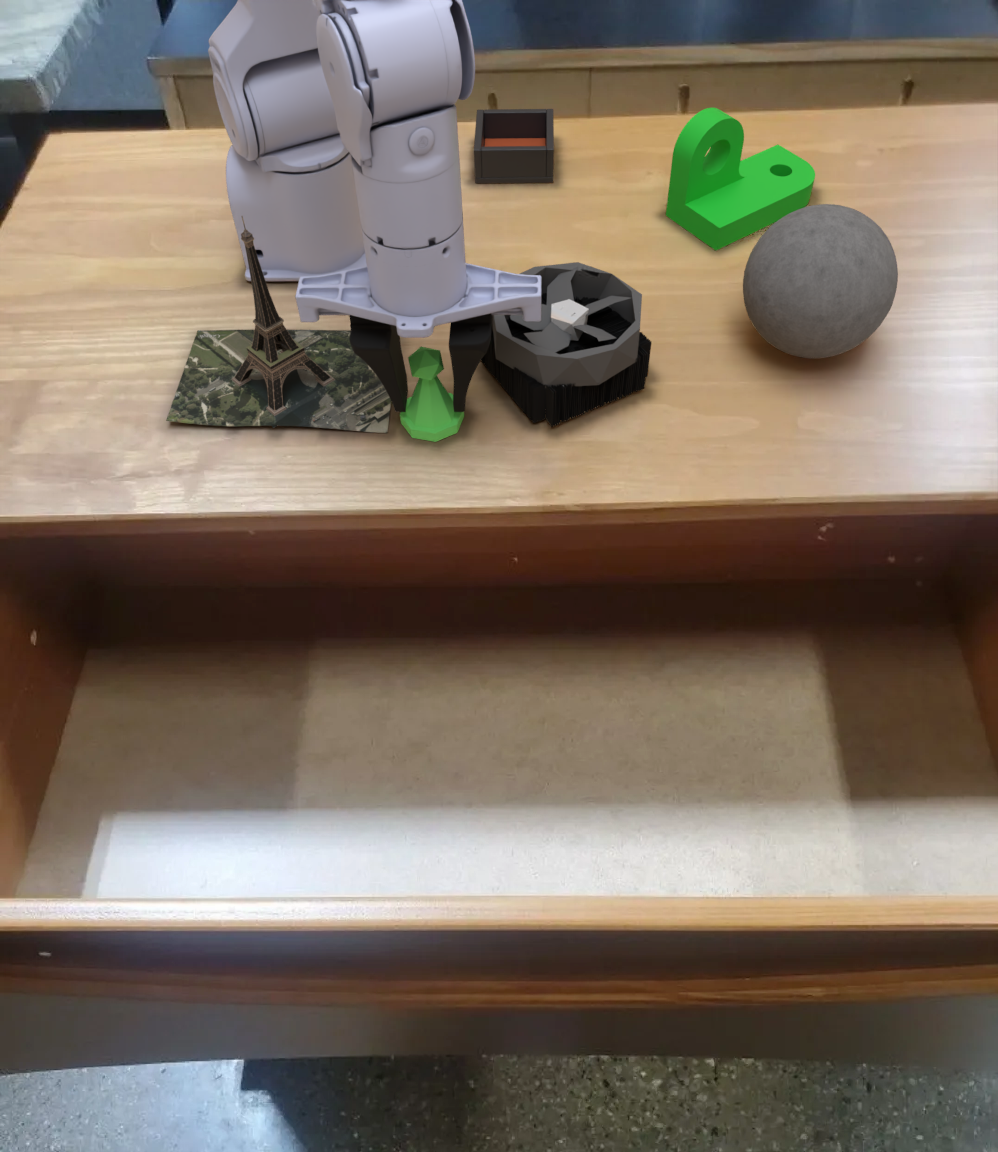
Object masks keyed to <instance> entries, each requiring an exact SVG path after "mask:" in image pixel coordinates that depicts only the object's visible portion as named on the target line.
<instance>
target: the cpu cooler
mask: <svg viewBox="0 0 998 1152" xmlns="http://www.w3.org/2000/svg"><path fill="white" fill-rule="evenodd" d="M519 274H523V275H540V276H541V321H540V322H527V321H524V320H523V315H492V325H491V341H490V344H489V347H488V350H487V352H486V354H485V355H484V356H483V358H482V359H481V361H480V363H482V365H483V366H485V368H486V369H487V371H488V372H489V373H490V375H492V377H493V378H494V379H495V380H496V381H497V383H498V384H499V385H500V386H501V387H502V389H503V390H504V391H505V392H506V393H507V394H508V395H509V396H510V398H511V399H512V400H513V402H514V403H515V404H516V405H517V406H518V407H519V409H520V410H522V412H523V413H524V414H525V415H526V416H527V418H528V419H529V420H530V421H531V423H532V424H535V423H539V422H541V421H544V420H546V421H547V422H548V423H549V425H550V426H551V428H554V427H556V426H558V425H560V424H561V423H566V422H568V421H569V420H573V419H576V418H578V417H580V416H582V415H585V413H589V412H592V411H594V410H596V409H598V408H601V407H603V406H605V404H606V405H608V404H611V403H613V402H615V401H617V400H618V399H619V400H620V399H623V398H624V397H628V396H630V395H632V394H634V393H637V392H640V391H642V390H645V386H646V384H645V383H646V378H647V377H648V375H649V366H650V358H651V351H652V350H651V349H652V340H650V339H649V338H648V337H647V335H646V334H644V333H643V331H641V320H642V319H641V318H642V304H643V303H642V302H643V294H642V293H641V292H639V291H638V290H636V289H635V288H633V287H632V286H631V285H629V284H628V283H626V282H625V281H623V280H622V279H620V278H619V277H618V276H616V275H615V274H613V273H611V272H608V271H605V270H602V269H599V268H598V267H597V268H596V267H593V266H592V265H591V266H590V265H588V264H585V263H581V262H579V261H577V262H568V263H567V262H566V263H557V264H556V263H555V264H548V265H539V266H533V267H531V268H529V269H527V270H525V271H522V272H520V273H519Z"/></svg>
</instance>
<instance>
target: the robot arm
mask: <svg viewBox="0 0 998 1152" xmlns="http://www.w3.org/2000/svg"><path fill="white" fill-rule="evenodd" d="M208 45H209V47H208V49H207V54H208V57H209V61H210V67H211V70H212V86H213V90H214V95H215V99H216V103H217V107H218V110H219V114H220V117H221V119H222V123H223V125H224V128H225V131H226V134H227V136H228V139H229V140H230V143H231V145H230V146H229V149H228V151H227V156H226V163H225V183H226V194H227V199H228V204H229V208H230V213H231V216H232V220H233V223H234V227H235V231H236V235H237V239H238V243H239V247H240V250H241V254H242V258H243V262H244V266H245V272H244V278H245V280H246V281H248V282H251V277H250V271H249V265H248V259H247V254H246V249H245V244H244V242H243V241H242V240H241V238H242V237H241V233H243V232H244V230H245V228H246V230H248V231H249V232H250V233H251V234H252V235H253V237H254V240H253V243H254V247H255V251H256V254H257V257H258V260H259V263H260V266H261V269H262V272H263V275H264V278H265V281H266V282H298V283H297V286H296V291H295V295H294V297H295V302H296V306H297V311H298V316H299V321H300V322H301V323H317V322H318V321H319V320H320V316H348V317H349V323H350V325H349V326H350V330H351V332H350V337H349V340H350V344H351V347H352V349H353V351H354V353H355V354H356V355H358V356H359V357H360V358H361V359H362V360H363V361H364V362H365V363H366V364H367V365H368V366H369V367H370V368H371V369H372V370H373V371H374V373H375V374H376V375H377V377H378V378H379V380H380V381H381V383H382V384H383V386H384V388H385V390H386V391H387V393H388V395H389V397H390V399H391V404H392V406H393V409H394V411H395V413H401V412H406V404H407V398H408V395H409V387H408V378H407V375H408V374H407V370H406V366H405V359H404V355H403V351H402V345H401V343H402V342H401V338H405V339H413V338H414V339H415V338H416V339H417V338H418V339H421V338H423V339H424V338H425V339H426V338H429V337H430V336H432V335H433V333H434V331H435V330H434V328H435V327H438V326H442V325H446V324H450V325H449V337H448V351H449V356H450V362H451V370H452V377H453V389H452V390H453V392H452V394H453V407H454V412H464V413H465V412H466V402H467V401H466V400H467V395H468V391H469V387H470V384H471V381H472V379H473V376H474V374H475V372H476V370H477V368H478V366H479V364H480V363H481V359H482V358H483V356H484V355H485V354H486V352H487V350H488V347H489V344H490V341H491V325H492V315H523V320H524V321H527V322H540V321H541V276H540V275H523V274H520V273H516V272H515V273H514V272H510V271H505V270H500V269H496V268H491V267H486V266H481V265H477V264H472V263H468V262H466V245H465V231H464V230H465V229H464V211H463V193H462V177H461V162H460V159H461V158H460V145H459V129H458V112H457V105H456V103H457V102H458V100H460V101H465V100H467V99H469V97H471V95H472V93H473V90H474V85H475V80H476V79H475V78H476V56H475V47H474V41H473V36H472V31H471V26H470V24H469V20H468V16H467V13H466V9H465V5H464V2H463V0H237V1H236V3H235V5H234V6H233V7H232V9H231V10H230V11H229V12H228V14H227V15H226V16H225V17H224V19H222V21H221V23H219V24H218V26H217V27H216V29H215V30H214V31H213V32H212V34H211V35H210V37H209V39H208ZM241 216H243V220H244V224H245V228H244V224H243V221H242V217H241Z"/></svg>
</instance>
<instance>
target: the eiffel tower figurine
mask: <svg viewBox="0 0 998 1152" xmlns="http://www.w3.org/2000/svg"><path fill="white" fill-rule="evenodd" d="M241 217H242V221H243V224H244V220H243V216H241ZM244 228H245V224H244ZM241 237H242V238H241V240H242V241H243V242H244V244H245V249H246V254H247V259H248V265H249V271H250V277H251V281H250V283H251V287H252V295H253V302H254V303H253V305H254V319H253V320H252V323H253V324H254V329H217V330H216V329H215V330H213V329H211V330H210V329H207V330H204V329H203V330H201V329H199V330H197V331H196V334H195V336H194V340H193V342H192V346H191V348H190V351H189V354H188V357H187V360H186V363H185V366H184V368H183V371H182V374H181V376H180V380H179V383H178V385H177V388H176V390H175V394H174V397H173V399H172V403H171V405H170V409H169V411H168V414H167V417H166V419H165V421H166V422H174V423H183V424H190V425H192V424H193V425H203V426H216V427H262V426H263V427H272V428H273V429H275V428H277V427H279V426H280V427H306V428H307V427H308V428H321V429H332V430H343V431H355V432H364V433H375V434H377V433H379V434H388V432H389V423H390V413H391V406H392V405H391V404H392V401H391V399H390V397H389V395H388V393H387V391H386V390H385V388H384V386H383V384H382V383H381V381H380V380H379V378H378V377H377V375H376V374H375V373H374V371H373V370H372V369H371V368H370V367H369V366H368V365H367V364H366V363H365V362H364V361H363V360H362V359H361V358H360V357H359V356H358V355H356V354H355V353H354V351H353V349H352V347H351V344H350V340H349V337H350V332H351V329H350V330H349V329H347V330H344V329H340V330H336V329H287V328H286V326H285V324H284V322H285V320H284V318H283V317H281V316H280V314H279V313H278V311H277V308H276V305H275V303H274V300H273V299H272V296H271V292H270V290H269V287H268V284H267V281H265V278H264V275H263V272H262V269H261V266H260V263H259V260H258V257H257V254H256V251H255V247H254V243H253V240H254V237H253V235H252V234H251V233H250V232H249V231H248V230H246V228H245V230H244V232H243V233H241Z"/></svg>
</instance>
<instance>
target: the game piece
mask: <svg viewBox="0 0 998 1152" xmlns="http://www.w3.org/2000/svg"><path fill="white" fill-rule="evenodd" d="M407 360H408V365H409V369H410V373H411V377H412V378H418V379H417V382H416V384H415V387H414V390H413V393H412V396H409V397H407V404H406V412H399V419H400V424H401V425H402V426H403V427H404V430H405V431H406V432H407V433H408V435H409V436H410V437H411V438H412V439H417V440H423V441H428V442H434V443H436V442H439V441H441V440H443V439H444V440H445V439H446V438H449V437H451V436H454V435H455V434H458V433H459V430H460V428H461V425H462V423H463V421H464V419H465V411H464V412H454V407H453V392H452V393H451V392H448V390H447V389H446V387H445V386H444V384H443V383H442V381H441V379H440V378H439V376H438V375H440V373H442V372H443V371H444V370H445V367H444V361H443V356H442V352H441V350H440V349H436V348H431V347H428V346H427V347H426V346H419V348H417V349H416V350H415V351H413V352H412V353H411V354H410V355H409V356H408V357H407Z"/></svg>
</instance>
